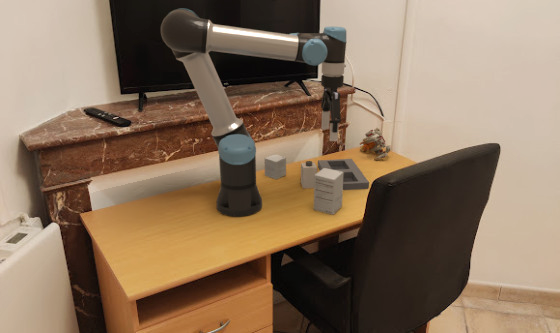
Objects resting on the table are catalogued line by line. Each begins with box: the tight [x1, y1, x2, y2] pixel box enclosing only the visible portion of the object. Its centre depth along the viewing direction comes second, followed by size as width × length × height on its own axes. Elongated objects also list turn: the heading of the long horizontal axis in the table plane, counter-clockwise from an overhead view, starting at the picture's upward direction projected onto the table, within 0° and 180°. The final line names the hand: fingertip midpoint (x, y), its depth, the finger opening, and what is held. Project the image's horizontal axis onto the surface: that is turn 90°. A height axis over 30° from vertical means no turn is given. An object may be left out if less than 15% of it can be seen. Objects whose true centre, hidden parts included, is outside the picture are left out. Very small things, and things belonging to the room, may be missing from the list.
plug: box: [300, 160, 318, 189], centre depth 171 cm, size 5×5×9 cm
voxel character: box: [359, 127, 391, 161], centre depth 198 cm, size 11×10×15 cm
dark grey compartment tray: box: [317, 158, 370, 191], centre depth 179 cm, size 14×24×2 cm, turn 7°
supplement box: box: [313, 168, 344, 215], centre depth 153 cm, size 7×7×13 cm
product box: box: [264, 153, 287, 180], centre depth 180 cm, size 6×6×7 cm
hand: (329, 134), depth 166 cm, fingers open, 13 cm apart
